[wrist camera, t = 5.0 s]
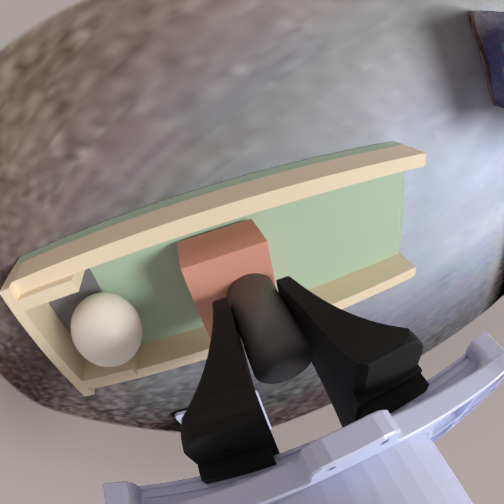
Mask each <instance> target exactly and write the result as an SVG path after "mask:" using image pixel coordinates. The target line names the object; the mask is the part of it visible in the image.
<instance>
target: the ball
mask: <svg viewBox="0 0 504 504" xmlns="http://www.w3.org/2000/svg"><path fill="white" fill-rule="evenodd" d="M71 336H72V340H73V342H74V345H75V347H76V348H77V350H78V351H79V353H80V354H81V355H82V356H83V357H84V358H85V359H87V360H88V361H89V362H91V363H93V364H95V365H98V366H102V367H115V366H119V365H122V364H124V363H126V362H127V361H129V360H130V359H131V358H132V357H133V356H134V355H135V354H136V352H137V351H138V349H139V347H140V344H141V340H142V323H141V320H140V317H139V315H138V313H137V311H136V310H135V308H134V307H133V306H132V304H131V303H130V302H128V301H127V300H126V299H124V298H123V297H121V296H119V295H117V294H114V293H109V292H100V293H95V294H92V295H90V296H88V297H86V298H85V299H84V300H82V301H81V302H80V303H79V304H78V306H77V307H76V309H75V311H74V313H73V315H72V319H71Z"/></svg>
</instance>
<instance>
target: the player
mask: <svg viewBox="0 0 504 504" xmlns="http://www.w3.org/2000/svg"><path fill="white" fill-rule="evenodd" d="M177 249H178V255H179V262H180V268H181V271H182V274H183V276H184V279H185V281H186V284H187V286H188V289H189V291H190V293H191V296H192V298H193V301H194V303H195V305H196V308H197V310H198V312H199V315H200V317H201V319H202V322H203V324H204V326H205V329H206V331H207V333H208V335H209V338H210V340H211V334H212V324H213V307H212V303H213V302H214V301H216V300H219V299H222V298H225V297H226V298H227V300H228V303H229V306H230V309H231V312H232V315H233V318H234V321H235V324H236V327H237V330H238V333H239V335H240V338H241V341H242V343H243V346H244V349H245V351H246V354H247V357H248V359H249V362H250V365H251V367H252V370H253V373H254V375H255V377H256V379H257V380H259V381H260V382H263V383H268V384H275V383H281V382H284V381H287V380H290V379H292V378H294V377H296V376H297V375H299V374H300V373H302V372H303V371H304V370H305V369H306V368H307V367H308V366H309V364H310V363H311V361H312V358H313V351H312V348H311V347H310V345H309V343H308V342H307V340H306V338H305V337H304V335H303V333H302V331H301V330H300V328H299V326H298V325H297V323H296V321H295V320H294V318H293V316H292V314H291V313H290V311H289V309H288V308H287V306H286V304H285V303H284V301H283V299H282V297H281V296H280V294H279V292H278V291H277V289H276V284H275V279H274V274H273V269H272V263H271V258H270V253H269V248H268V242H267V240H266V239H265V237H264V236H263V234H262V233H261V231H260V230H259V229H258V227H257V226H256V224H255V223H254V221H253V220H252V219H249V220H245V221H242V222H239V223H236V224H233V225H229V226H226V227H223V228H220V229H217V230H214V231H211V232H207V233H204V234H201V235H198V236H195V237H192V238H189V239H186V240H183V241H180V242H177Z"/></svg>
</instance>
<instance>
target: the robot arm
mask: <svg viewBox="0 0 504 504" xmlns="http://www.w3.org/2000/svg"><path fill="white" fill-rule="evenodd" d="M276 282H277V288H278V292H279V294H280V296H281V297H282V299H283V301H284V303H285V304H286V306H287V308H288V309H289V311H290V313H291V314H292V316H293V318H294V320H295V321H296V323H297V325H298V326H299V328H300V330H301V331H302V333H303V335H304V337H305V338H306V340H307V342H308V343H309V345H310V347H311V348H312V351H313V358H312V361H311V362H312V364H313V366H314V367H315V369H316V371H317V373H318V375H319V377H320V379H321V381H322V383H323V385H324V387H325V390H326V392H327V394H328V396H329V398H330V400H331V402H332V405H333V406H334V409H335V411H336V413H337V416H338V418H339V420H340V423H341V425H342V427H343V428H341V429H338V430H336V431H334V432H332V433H330V434H327V435H325V436H323V437H320V438H319V439H316V440H314V441H312V442H309V443H307V444H304V445H302V446H299V447H296V448H294V449H291V450H288V451H286V452H283V453H279V450H278V448H277V446H276V443H275V441H274V438H273V436H272V433H271V431H270V430H271V429H272V428H271V426H270V423H269V420H268V418H267V415H266V413H265V410H264V407H263V405H262V402H261V399H260V397H259V394H258V392H257V391H256V390H255V389H254V386H253V382H252V379H251V375H250V371H249V367H248V363H247V359H246V356H245V352H244V348H243V344H242V341H241V338H240V335H239V333H238V330H237V327H236V324H235V321H234V318H233V315H232V312H231V309H230V306H229V303H228V300H227V298H226V297H225V298H222V299H219V300H216V301H214V302H213V303H212V307H213V324H212V334H211V341H210V347H209V352H208V356H207V360H206V364H205V368H204V371H203V374H202V377H201V380H200V382H199V385H198V387H197V389H196V392H195V394H194V396H193V399H192V401H191V403H190V404H189V406H188V408H187V410H185V411H181V412H177V413H176V414H175V418H176V420H177V421H178V422H179V423H180V424H181V440H182V445H183V450H184V453H185V454H186V455H187V456H188V457H189V458H190V459H191V460H193V461H194V462H195V463H196V464H198V468H199V472H200V476H199V477H194V478H189V479H184V480H178V481H173V482H167V483H160V484H154V485H146V486H137V485H136V484H134V483H132V482H114V483H104V484H103V486H104V497H105V504H473V503H472V501H471V500H470V498H469V496H468V495H467V493H466V492H465V490H464V489H463V487H462V486H461V484H460V482H459V481H458V479H457V478H456V476H455V475H454V473H453V472H452V470H451V469H450V467H449V466H448V464H447V462H446V461H445V459H444V458H443V456H442V455H441V454H440V452H439V451H438V449H437V448H436V446H435V445H434V443H433V442H435V441H436V440H437V439H439V438H440V437H441V436H443V435H444V434H445V433H446V432H447V431H449V430H450V429H451V428H453V427H454V426H455V425H456V424H457V423H458V422H460V421H461V420H462V419H463V418H464V417H465V416H467V415H468V414H469V413H470V412H471V411H472V410H473V409H475V408H476V407H477V406H478V405H479V404H480V403H481V402H482V401H483V400H484V399H486V398H487V396H489V395H490V394H491V393H492V392H493V391H494V390H495V389H496V388H497V386H498V385H499V384H500V382H501V381H502V380H503V378H504V349H503V348H502V347H501V346H500V345H499V344H498V343H497V342H496V341H495V340H494V339H493V338H492V337H491V336H490V335H489V334H488V333H487V332H483V333H482V334H481V335H480V336H478V337H477V338H476V339H475V340H474V341H472V342H471V344H470V345H469V346H468V348H467V350H466V353H465V354H464V355H463V356H462V357H460V358H459V359H458V360H456V361H455V362H453V363H452V364H451V365H449V366H448V367H447V368H445V369H444V370H442V371H441V372H439V373H438V374H437V375H435V376H433V377H432V378H431V379H429V380H427V381H426V379H425V378H424V377H423V376H422V374H421V372H422V369H421V368H420V367H419V365H418V362H419V359H420V356H421V354H422V349H423V344H422V342H421V341H420V340H419V339H418V338H417V336H416V335H415V334H414V333H413V332H411V331H410V330H409V329H408V328H402V327H395V326H389V325H385V324H381V323H377V322H373V321H370V320H367V319H364V318H361V317H358V316H355V315H353V314H350V313H348V312H346V311H344V310H341V309H339V308H337V307H336V306H334V305H332V304H330V303H328V302H326V301H325V300H323V299H321V298H320V297H318V296H317V295H315V294H314V293H312V292H310V291H309V290H308V289H306V288H305V287H303V286H302V285H300V284H299V283H298V282H296V281H295V280H294V279H292V278H291V277H289V276H286V277H284V278H281V279H278V280H276Z"/></svg>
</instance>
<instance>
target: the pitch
mask: <svg viewBox="0 0 504 504" xmlns="http://www.w3.org/2000/svg"><path fill="white" fill-rule="evenodd" d="M423 166H426V153H425V152H422V151H419V150H417V149H414V148H411V147H409V146H406V145H403V144H400V143H397V142H394V141H391V142H386V143H381V144H375V145H370V146H365V147H360V148H355V149H351V150H346V151H341V152H337V153H332V154H328V155H323V156H319V157H315V158H310V159H306V160H302V161H298V162H294V163H290V164H286V165H282V166H278V167H274V168H270V169H267V170H263V171H259V172H255V173H252V174H248V175H245V176H241V177H238V178H234V179H231V180H227V181H224V182H220V183H217V184H214V185H210V186H207V187H204V188H201V189H197V190H194V191H191V192H188V193H185V194H182V195H179V196H175V197H172V198H169V199H166V200H163V201H160V202H158V203H155V204H152V205H149V206H146V207H143V208H140V209H137V210H135V211H132V212H129V213H126V214H124V215H121V216H118V217H115V218H113V219H110V220H107V221H105V222H102V223H100V224H97V225H94V226H92V227H89V228H87V229H84V230H82V231H79V232H77V233H74V234H72V235H69V236H67V237H64V238H62V239H60V240H57V241H55V242H53V243H50V244H48V245H46V246H43V247H41V248H39V249H36V250H34V251H32V252H30V253H28V254H25V255H23V256H21V257H20V258H19V259H18V261H17V262H16V264H15V266H14V267H13V269H12V271H11V272H10V274H9V276H8V277H7V279H6V281H5V282H4V284H3V286H2V288H1V289H0V295H1V296H2V298H3V299H4V301H5V302H6V304H7V305H8V307H9V308H10V309H11V311H12V312H13V314H14V315H15V316H16V318H17V319H18V321H19V322H20V323H21V325H22V326H23V327H24V329H25V330H26V331H27V332H28V334H29V335H30V336H31V338H32V339H33V340H34V341H35V343H36V344H37V345H38V346H39V347H40V349H41V350H42V351H43V352H44V353H45V355H46V356H47V357H48V358H49V359H50V360H51V361H52V363H53V364H54V365H55V366H56V367H57V368H58V369H59V370H60V371H61V373H62V374H63V375H64V376H65V377H66V378H67V379H68V380H69V381H70V382H71V383H72V384H73V385H74V386H75V387H76V388H77V389H78V390H79V391H80V392H81V393H82V394H83V395H84V396H89V395H94V390H95V388H99V387H103V386H108V385H112V384H116V383H120V382H124V381H129V380H133V379H137V378H140V377H144V376H148V375H152V374H156V373H159V372H163V371H167V370H170V369H174V368H177V367H181V366H184V365H187V364H191V363H194V362H197V361H201V360H204V359H207V356H208V352H209V347H210V341H211V340H210V338H209V335H208V333H207V331H206V329H205V326H204V324H203V322H202V319H201V317H200V315H199V312H198V310H197V308H196V305H195V303H194V301H193V298H192V296H191V293H190V291H189V289H188V286H187V284H186V281H185V279H184V276H183V274H182V271H181V268H180V262H179V255H178V249H177V242H180V241H183V240H186V239H189V238H192V237H195V236H198V235H201V234H204V233H207V232H211V231H214V230H217V229H220V228H223V227H226V226H229V225H233V224H236V223H239V222H242V221H245V220H249V219H252V220H253V221H254V223H255V224H256V226H257V227H258V229H259V230H260V231H261V233H262V234H263V236H264V237H265V239H266V240H267V242H268V248H269V253H270V258H271V263H272V269H273V274H274V279H275V284H276V289H277V291H278V288H277V282H276V280H278V279H281V278H284V277H286V276H289V277H291V278H292V279H294V280H295V281H296V282H298V283H299V284H300V285H302V286H303V287H305V288H306V289H308V290H309V291H310V292H312V293H314V294H315V295H317V296H318V297H320V298H321V299H323V300H325V301H326V302H328V303H330V304H332V305H334V306H336V307H337V308H339V309H343V308H346V307H348V306H350V305H353V304H355V303H357V302H359V301H362V300H364V299H366V298H368V297H371V296H373V295H375V294H377V293H380V292H382V291H384V290H386V289H388V288H390V287H392V286H395V285H397V284H399V283H401V282H403V281H405V280H407V279H409V278H411V277H413V276H415V271H416V266H414V265H413V264H412V263H411V262H410V261H408V260H407V259H406V258H405V257H404V256H402V255H401V254H400V253H399V252H400V241H401V228H402V212H403V188H404V171H407V170H411V169H415V168H419V167H423ZM100 292H109V293H114V294H117V295H119V296H121V297H123V298H124V299H126V300H127V301H128V302H130V303H131V304H132V306H133V307H134V308H135V310H136V311H137V313H138V315H139V317H140V320H141V323H142V340H141V344H140V347H139V349H138V351H137V352H136V354H135V355H134V356H133V357H132V358H131V359H130V360H129V361H127V362H126V363H124V364H122V365H119V366H115V367H102V366H98V365H95V364H93V363H91V362H89V361H88V360H87V359H85V358H84V357H83V356H82V355H81V354H80V353H79V351H78V350H77V348H76V347H75V345H74V342H73V340H72V336H71V319H72V315H73V313H74V311H75V309H76V307H77V306H78V304H79V303H80V302H81V301H82V300H84V299H85V298H86V297H88V296H90V295H92V294H95V293H100ZM242 344H243V343H242ZM243 347H244V346H243Z"/></svg>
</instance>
